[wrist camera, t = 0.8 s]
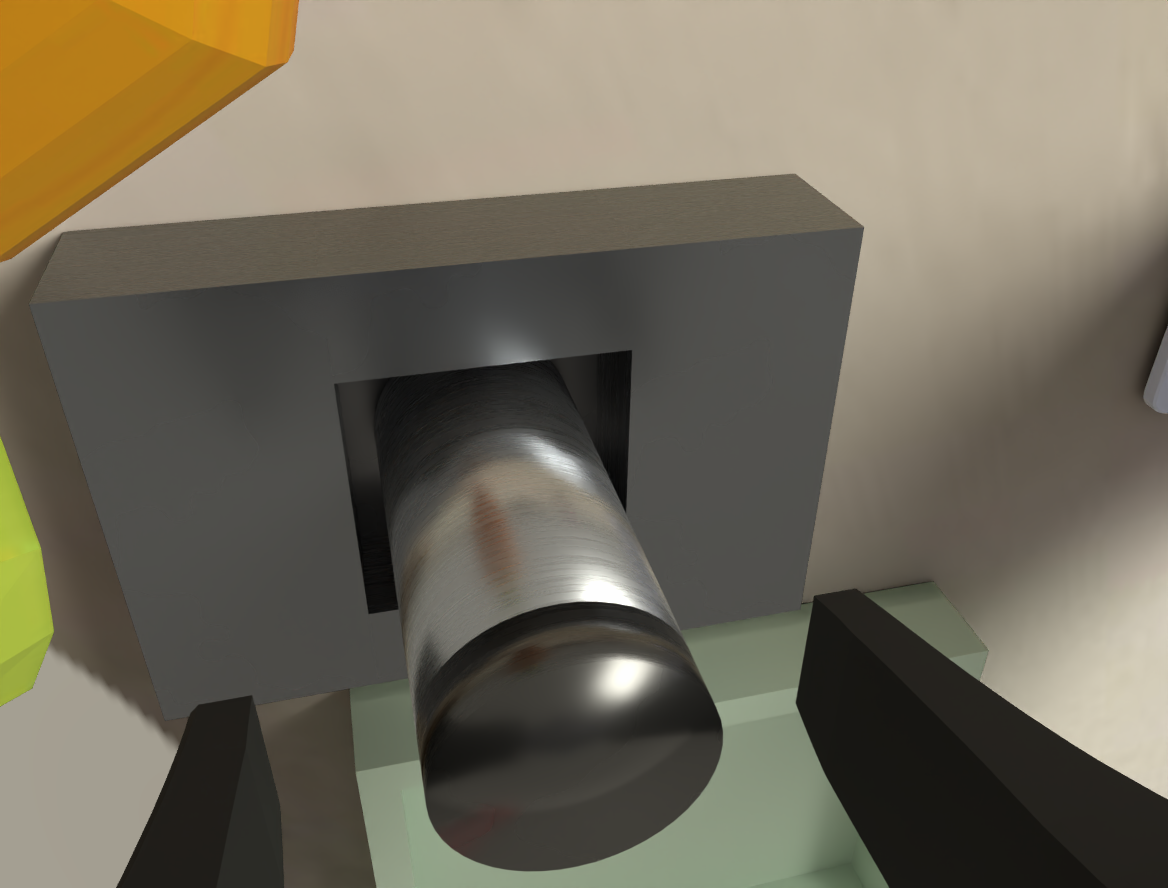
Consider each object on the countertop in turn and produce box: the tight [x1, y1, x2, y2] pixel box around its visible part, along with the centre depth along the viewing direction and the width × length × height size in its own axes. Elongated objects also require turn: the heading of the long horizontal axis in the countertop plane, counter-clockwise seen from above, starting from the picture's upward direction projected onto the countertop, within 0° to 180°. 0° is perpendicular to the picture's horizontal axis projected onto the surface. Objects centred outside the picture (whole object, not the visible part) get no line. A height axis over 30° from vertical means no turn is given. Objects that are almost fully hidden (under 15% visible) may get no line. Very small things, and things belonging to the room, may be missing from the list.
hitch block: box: [29, 174, 864, 721], centre depth 18 cm, size 12×8×3 cm, turn 90°
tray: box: [350, 582, 989, 888], centre depth 25 cm, size 14×11×2 cm
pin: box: [374, 359, 723, 872], centre depth 15 cm, size 4×4×8 cm
